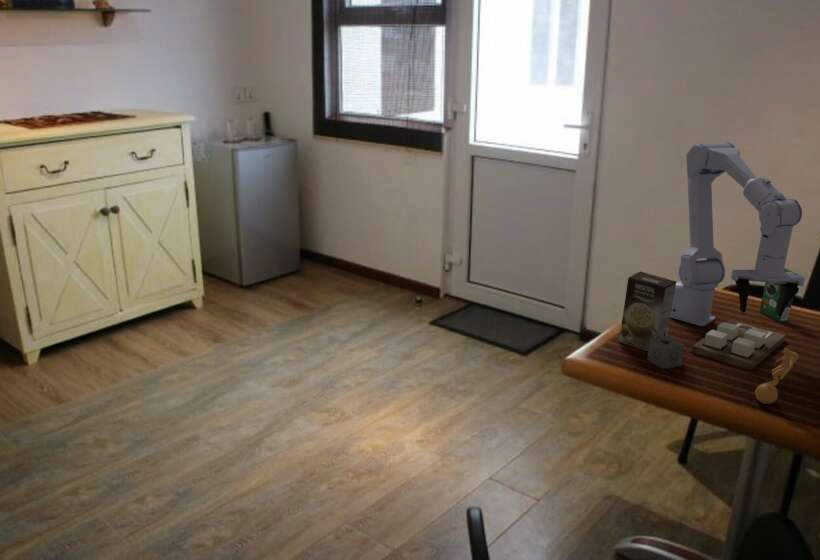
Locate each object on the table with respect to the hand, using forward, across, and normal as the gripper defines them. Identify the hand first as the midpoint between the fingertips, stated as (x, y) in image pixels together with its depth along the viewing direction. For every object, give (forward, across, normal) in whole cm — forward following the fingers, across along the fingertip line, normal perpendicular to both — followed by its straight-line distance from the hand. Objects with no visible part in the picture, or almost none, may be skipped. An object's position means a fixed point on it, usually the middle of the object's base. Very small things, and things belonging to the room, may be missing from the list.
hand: (760, 312), depth 162 cm
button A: (+8, -5, +4) cm, 10 cm away
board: (+10, -2, +2) cm, 10 cm away
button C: (+8, -9, -2) cm, 12 cm away
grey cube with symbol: (+10, -21, -11) cm, 26 cm away
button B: (+8, 0, +1) cm, 8 cm away
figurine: (+10, -3, -26) cm, 28 cm away
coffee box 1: (+10, -24, -2) cm, 27 cm away
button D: (+8, -4, -5) cm, 10 cm away
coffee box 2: (+10, +11, +25) cm, 29 cm away
